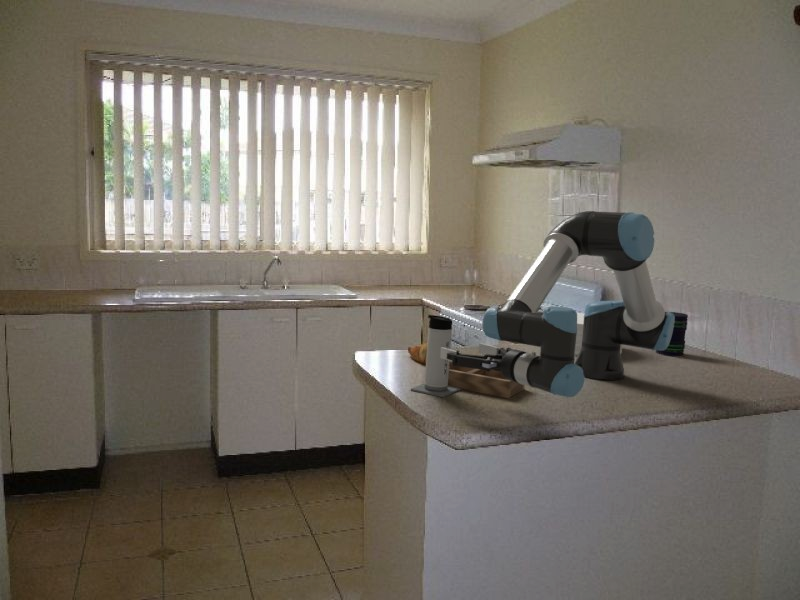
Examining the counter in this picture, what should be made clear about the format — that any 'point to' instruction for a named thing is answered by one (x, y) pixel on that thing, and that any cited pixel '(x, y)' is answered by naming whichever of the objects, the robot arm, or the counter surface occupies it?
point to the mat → (436, 393)
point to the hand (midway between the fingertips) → (460, 350)
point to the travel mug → (437, 353)
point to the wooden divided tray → (482, 381)
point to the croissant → (419, 352)
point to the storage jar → (676, 336)
